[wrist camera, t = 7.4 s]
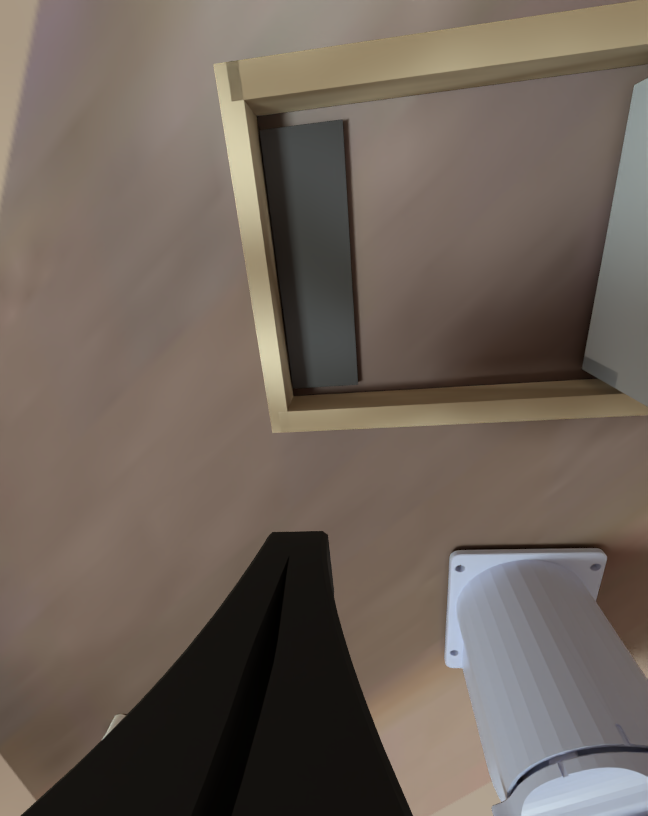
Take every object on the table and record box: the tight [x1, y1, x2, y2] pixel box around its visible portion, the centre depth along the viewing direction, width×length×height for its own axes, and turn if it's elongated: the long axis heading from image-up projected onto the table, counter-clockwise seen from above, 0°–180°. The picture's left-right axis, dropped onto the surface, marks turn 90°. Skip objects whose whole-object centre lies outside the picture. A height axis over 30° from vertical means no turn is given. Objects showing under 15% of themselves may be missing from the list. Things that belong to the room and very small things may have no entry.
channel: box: [213, 0, 648, 433], centre depth 14 cm, size 13×24×3 cm, turn 95°
